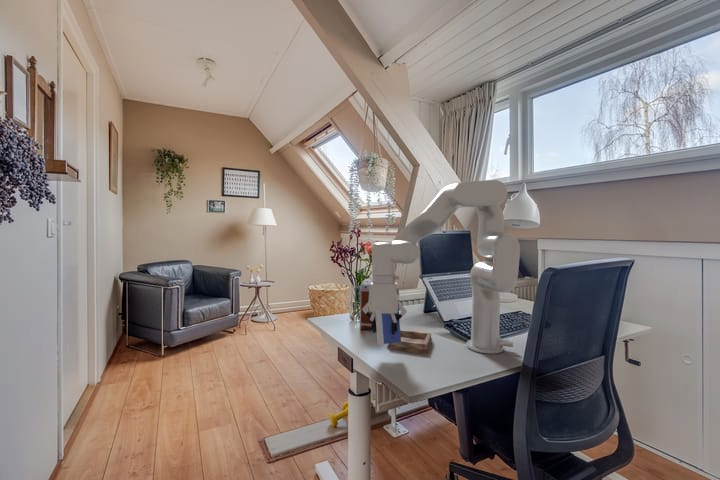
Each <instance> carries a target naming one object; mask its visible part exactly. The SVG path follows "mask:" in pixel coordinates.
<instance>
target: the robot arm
mask: <svg viewBox="0 0 720 480" xmlns="http://www.w3.org/2000/svg"><path fill="white" fill-rule="evenodd" d="M508 193H509V192H508V187H507V186H506V184H505V183H504V182H502V181H501V180H497V179H487V180H472V181H471V180H469V181H458V182H454V183H451V184H448V185H446V186H445V187H444V188H442V189H441V190H440V191H439V192H438V194H437V195H436V196H435V197H434V198H433V199H432V201H431V202H430V203H429V204H428V205H427V206H426V207H425V208H424V209H423V211H422V212H421V213H420V214H418V215H417V216H416V217H414V219H413V220H411V221H410V222H409V223H408V224H407V225H406V226H404V227H403V229H401V230H400V231H399V233H397V235H396V236H395V237H394V238H393V240H391V242H387V241H383V242H381V241H378V242H374V243H373V244H372V246H371V267H372V269H371V271H372V272H371V273H372V275H371V276H372V278H371V279H372V283H371V285H370V291H369V302H368V303H367V304H366V305H365V306H364V307H363V308H362V310H363V312H364V313H366V315H367V316H368V317H369V318H370V320H371V325H372V329H373V330H372V333H373V334H376V333H377V330H376V320H375V312H376V311H375V310H380V313H383V314H391V317H392V319H393V322H392V335H394V334H395V332H397V321H398V320H399V321H400V320H401V318H403V317H404V316H405V315H406V314H407V313H408V310H407V309H406V308H405V307H404V306H403V305H402V303H401V298H400V289H399V283H397V281H399V280H400V276H399V275H398V276H397V275H396V270H395V268H396V265H395V264H401V265H402V264H403V265H410V264H411V265H412V264H414V263H415V262H416V261H418V260H419V258H420V256H421V251H420V248H419V247H418V245H417V244H418V243H419V242H420V241H421V240H423V239H424V238H425V237H428V236H430V235H432V234H433V235H434V234H435V233H437V232H438V231H440V230H441V229H442V228H443V227H444V226H445V224H447V222H448V221H449V220H450V219H451V218H452V217H453V215H454V214H455V213H456V212H457V211H458V210H459V209H462V208H463V209H464V208H473V210H475V212H476V214H477V216H478V230H477V231H478V232H477V240H476V251H477V252H478V254H479V255H480V256H481V257H484V258H488V259H493V260H492V261H479V262H477V263H475V264H474V265H473V266H472V268H471V270H470V275H469V276H470V277H469V278H470V283H471V284H470V285H471V293H472V297H471V298H472V302H471V303H472V304H471V332H470V339H468V340H467V341H466V347H467V348H468V349H470V350H471V351H474V352H477V353H482V354H489V355H490V354H491V355H495V354H500V353H502V352H504V347H508V348H509V347H510V348H514V341H511V340H509V339H503V338H502V337H500V315H501V313H500V312H501V297H500V293H509V292H511V291H513V290H514V289H515V286H517V285H516V284H517V282H518V277H519V267H520V259H521V258H520V256H521V246H520V243H519V240H518V238H517V237H516V236H515V235H514V234H512V233H510V232H507V231H505V229H504V227H505V217H504V213H503V210H502V208H501V206H500V205H501V204H503V203H504V202H505V201H506V198H507V197H508ZM368 307H369V310H368ZM398 308H399V311H400V312H399V315H398V316H397V317H396V316H395V314H396V313H397V312H398ZM371 312H372V313H371Z"/></svg>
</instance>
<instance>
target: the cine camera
mask: <svg viewBox="0 0 720 480" xmlns="http://www.w3.org/2000/svg"><path fill="white" fill-rule="evenodd" d="M371 283H372V278H365V279H363V280H362V282H361V284H360V290H359V294H360V295H359V329H360V330H363V331H364V330H365V331H373V329H372V325H371V320H370V318H369V317H368V316H367V315H366V313H364V312H363V310H362V308H363V307H364V306H365V305H366V304H367V303H368V302H369V291H370V285H371ZM368 310H369V307H368ZM371 313H372V312H371Z"/></svg>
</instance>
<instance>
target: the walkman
mask: <svg viewBox="0 0 720 480" xmlns="http://www.w3.org/2000/svg"><path fill="white" fill-rule="evenodd" d="M375 311H376V312H375V320H376V330H377V331H376V340H377V341H376V343H377V345H379V346H380V345H385V344H386V345H388V344H389V343H396V342H401V335H400V329H401V324H400V323H401V322H400V319H399V320H398V321H397V332H395V334H394V335H392V322H393V319H392V317H391V314H383V313H380V310H375ZM399 311H400V310H399V308H398V312H397V313H396V314H395V316H396V317H397V316H398V315H399V314H400V312H399Z"/></svg>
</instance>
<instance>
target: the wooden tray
mask: <svg viewBox="0 0 720 480" xmlns="http://www.w3.org/2000/svg"><path fill="white" fill-rule="evenodd" d="M400 335H401V342H396V343H388V344H386V346H387V347H386V348H387V349H388V350H394V351H401V352H410V353H417V354H424V355H427V354H428V351H429V350H430V347H431V344H432V343H433V338H432V332H424V331H418V330H415V331H414V330H407V329H401V328H400Z"/></svg>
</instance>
